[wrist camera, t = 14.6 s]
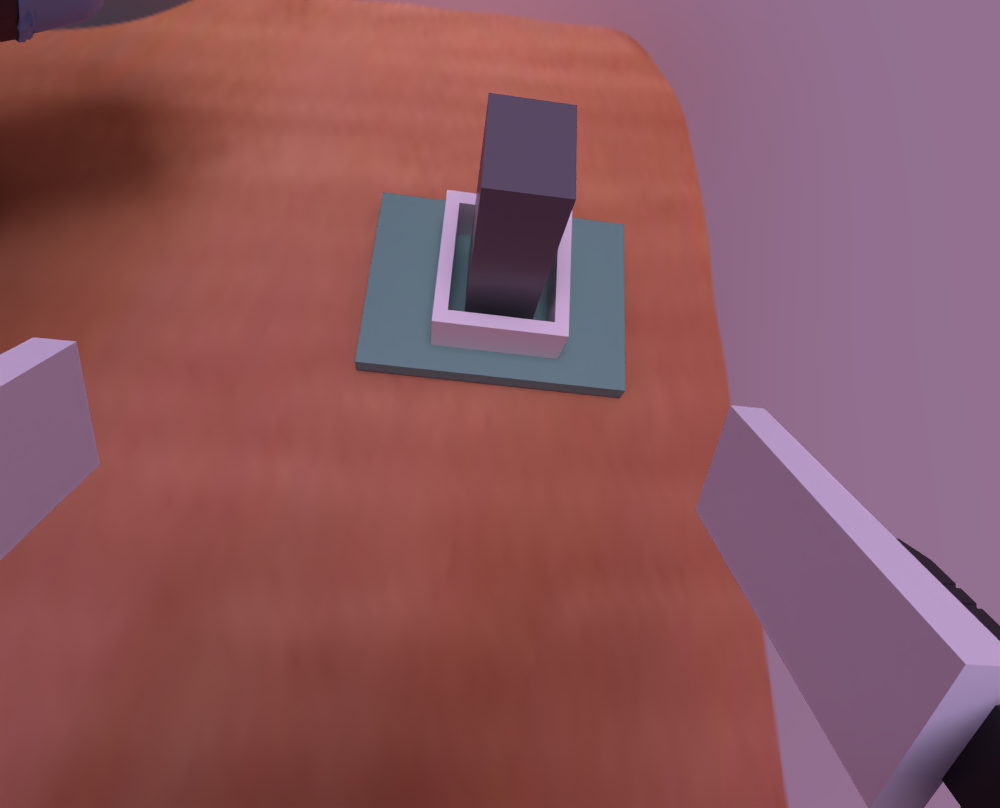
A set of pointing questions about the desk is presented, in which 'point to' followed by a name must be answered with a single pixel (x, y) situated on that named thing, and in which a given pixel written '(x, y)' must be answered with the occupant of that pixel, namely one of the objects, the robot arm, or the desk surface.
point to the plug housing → (520, 203)
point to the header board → (485, 336)
